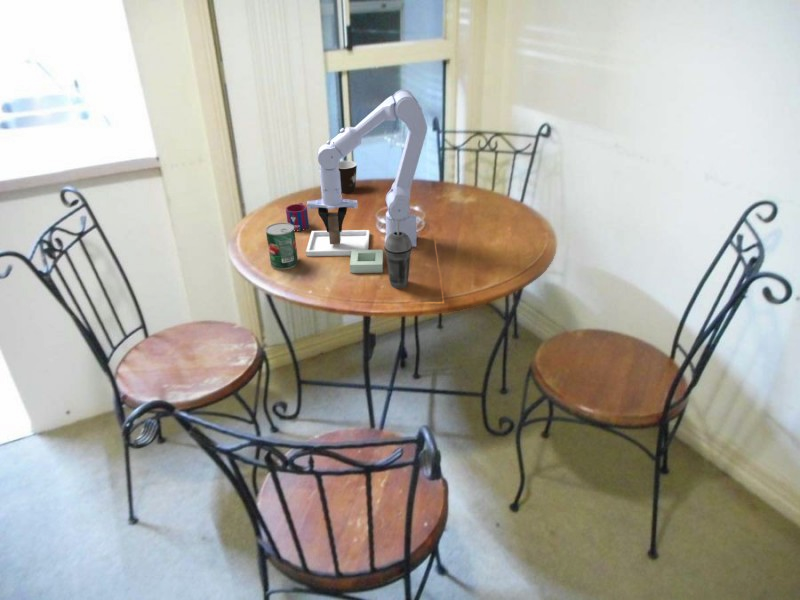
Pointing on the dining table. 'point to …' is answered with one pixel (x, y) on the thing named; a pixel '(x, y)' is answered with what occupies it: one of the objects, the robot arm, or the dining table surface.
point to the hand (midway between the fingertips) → (334, 230)
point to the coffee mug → (347, 176)
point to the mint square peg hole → (366, 261)
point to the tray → (349, 242)
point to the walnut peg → (334, 228)
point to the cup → (297, 216)
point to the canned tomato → (282, 245)
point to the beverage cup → (398, 257)
